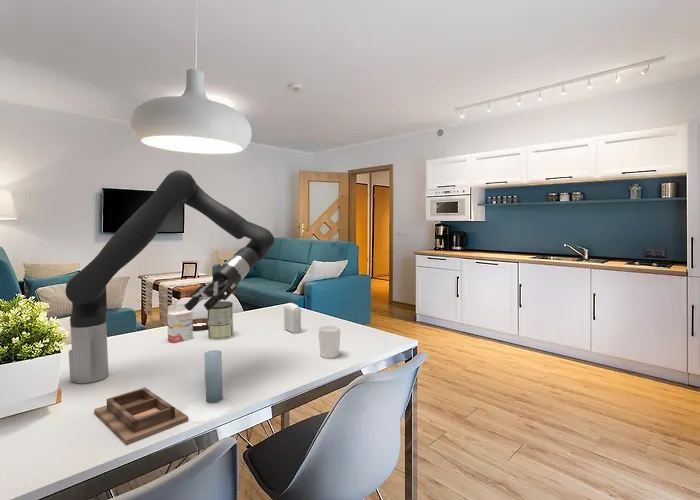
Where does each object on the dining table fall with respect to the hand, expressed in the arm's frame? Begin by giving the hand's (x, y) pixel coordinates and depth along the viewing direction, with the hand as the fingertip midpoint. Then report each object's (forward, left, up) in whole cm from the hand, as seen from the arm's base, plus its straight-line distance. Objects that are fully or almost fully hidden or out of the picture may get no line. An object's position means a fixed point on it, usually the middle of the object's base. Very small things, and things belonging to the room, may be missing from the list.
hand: (196, 308), depth 111 cm
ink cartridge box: (-28, +50, -25) cm, 63 cm away
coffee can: (-13, +55, -25) cm, 62 cm away
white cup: (+35, +32, -25) cm, 53 cm away
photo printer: (+16, +64, -25) cm, 71 cm away
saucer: (-28, +70, -25) cm, 80 cm away
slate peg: (+6, -4, -25) cm, 25 cm away
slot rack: (-9, -14, -24) cm, 30 cm away
